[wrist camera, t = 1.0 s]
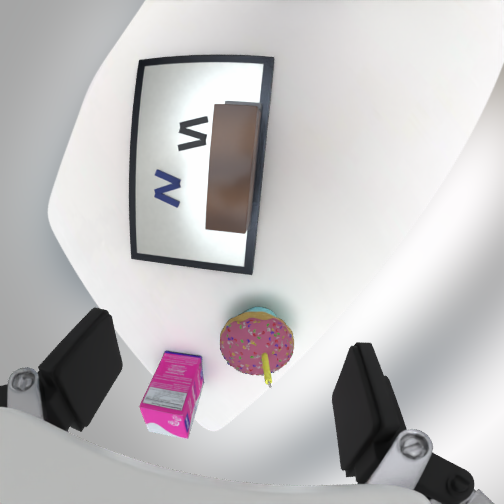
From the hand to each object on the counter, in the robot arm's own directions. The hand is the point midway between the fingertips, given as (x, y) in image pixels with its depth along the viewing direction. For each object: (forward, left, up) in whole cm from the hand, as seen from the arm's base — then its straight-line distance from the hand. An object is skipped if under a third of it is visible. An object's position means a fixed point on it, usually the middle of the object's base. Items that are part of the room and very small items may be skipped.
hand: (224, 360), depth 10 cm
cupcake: (+14, +1, -22) cm, 26 cm away
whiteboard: (-5, -8, -22) cm, 24 cm away
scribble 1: (-2, -10, -21) cm, 24 cm away
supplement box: (+24, -9, -22) cm, 34 cm away
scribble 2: (-8, -8, -21) cm, 24 cm away
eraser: (-5, -3, -21) cm, 22 cm away
